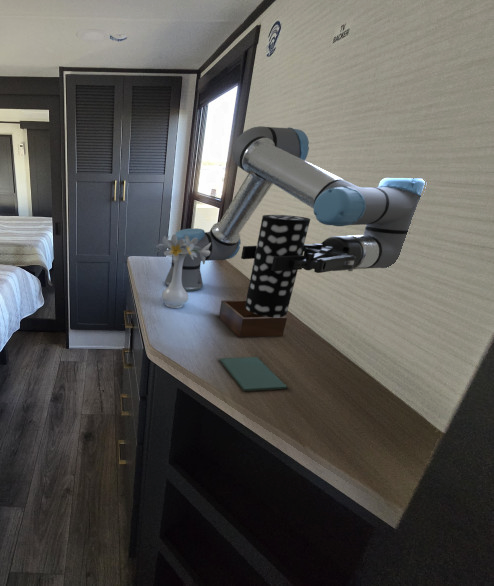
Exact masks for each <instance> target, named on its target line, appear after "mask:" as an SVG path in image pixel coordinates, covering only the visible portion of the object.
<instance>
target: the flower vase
mask: <svg viewBox="0 0 494 586" xmlns="http://www.w3.org/2000/svg"><path fill="white" fill-rule="evenodd" d="M185 240H186V243H185ZM197 242H198V239H197V238H194V239H192V240H191V242H190V239H189V237H188V236H187V235H185V239H180V240H178V241H177V237H176V235H175V234H172V235H171V238H170V235H168V236H167V237H166V235H164V236H163V237H162V239H161V243H158V244H157V245H155V247H154V248H155V249H156V251H155V253H154V254H157V253H158V252H161V251H162V250H165V249H166V250H165V251H163V255H164V256H166V257H169V256H172V254H173V260H174V269H173V276H172V280H171V283H170V285H169V286H166V288H165V289H163V290H162V292H161V298H162V301H163V302H164V303H165V306H166V307H168V308H170V309H181V308H183V306H184V304H186V303H187V302H188V301H189V294H188V291H185V289H184V288H183V285H182V267H183V262H184V259H185V257H186V254H188V255H189V256H190V257H191V258H192V259H193V260H194V258H193V256H194V257H196V258H197V255H196V253H195V251H197V252H199V253H200V256H201V263H202V264H203V265H205V264H206V261H205V257H204V256H209V255H210V251H209V250H207V249H208V248H209V247H210V245H211V243H209V244H208V245H207V246H205V247H204V248H203V249H201V248H200V247H199V246H195V245H196V244H197ZM183 247H186V248H185V249H184V248H183ZM203 255H204V256H203Z"/></svg>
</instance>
